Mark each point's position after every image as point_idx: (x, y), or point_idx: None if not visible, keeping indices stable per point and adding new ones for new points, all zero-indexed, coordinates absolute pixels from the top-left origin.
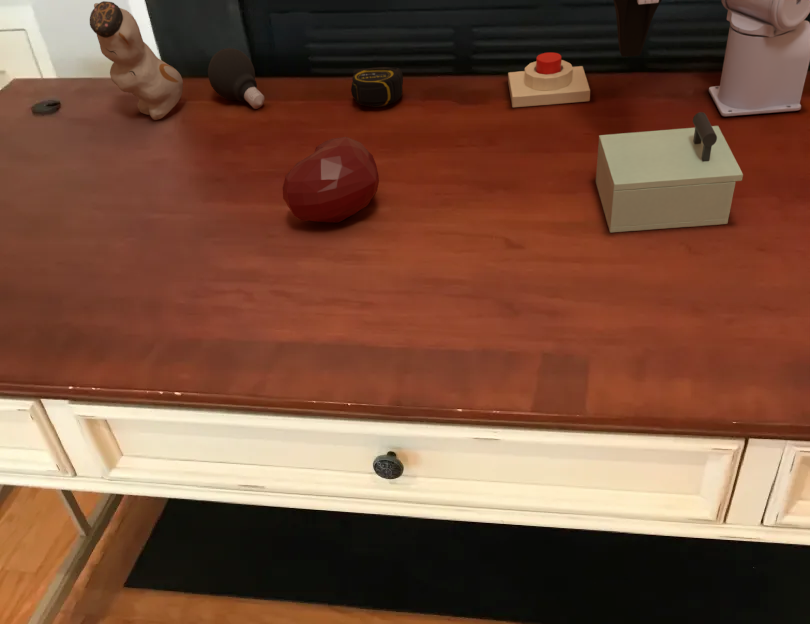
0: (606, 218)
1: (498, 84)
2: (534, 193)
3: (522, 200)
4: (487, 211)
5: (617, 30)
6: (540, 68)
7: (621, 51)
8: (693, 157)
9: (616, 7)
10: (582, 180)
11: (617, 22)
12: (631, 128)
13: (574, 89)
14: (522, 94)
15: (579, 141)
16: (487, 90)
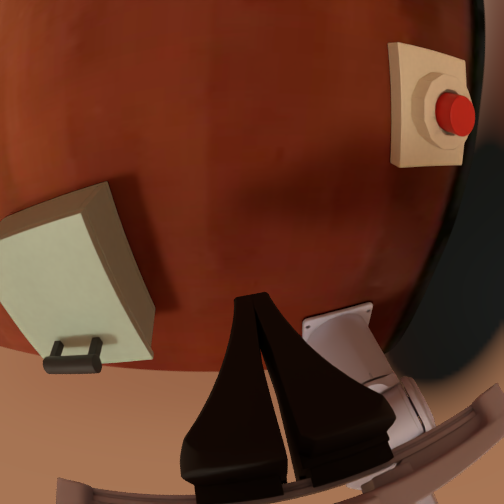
0: (20, 211)
1: (452, 46)
2: (67, 94)
3: (48, 83)
4: (23, 47)
5: (284, 322)
6: (446, 97)
7: (236, 305)
8: (59, 334)
9: (241, 400)
10: (111, 159)
11: (281, 342)
12: (292, 221)
13: (407, 144)
14: (404, 59)
15: (253, 141)
16: (438, 26)
